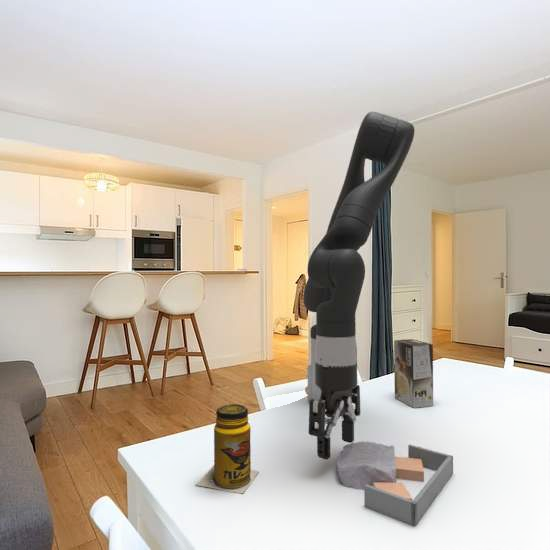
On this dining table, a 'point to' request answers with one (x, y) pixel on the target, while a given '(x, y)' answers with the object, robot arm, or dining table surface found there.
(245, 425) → the condiment
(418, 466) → the tile
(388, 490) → the tile
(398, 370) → the coffee box
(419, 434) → the dining table surface
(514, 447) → the dining table surface
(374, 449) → the stone block
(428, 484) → the frame
